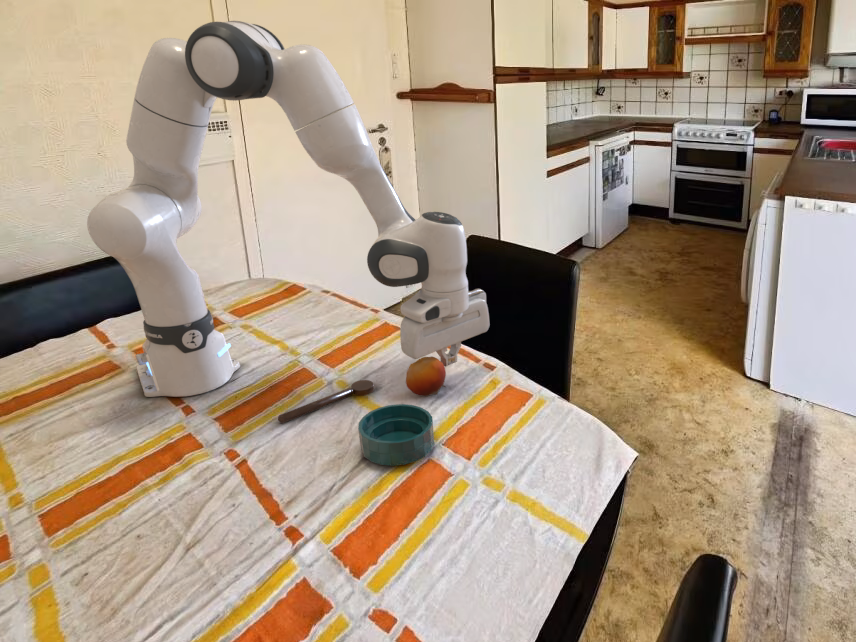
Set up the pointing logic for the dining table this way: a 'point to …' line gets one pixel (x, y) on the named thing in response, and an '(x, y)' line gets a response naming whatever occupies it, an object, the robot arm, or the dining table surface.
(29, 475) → the dining table surface
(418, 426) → the bowl
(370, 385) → the spoon
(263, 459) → the dining table surface
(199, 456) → the dining table surface
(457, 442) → the dining table surface
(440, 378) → the fruit
